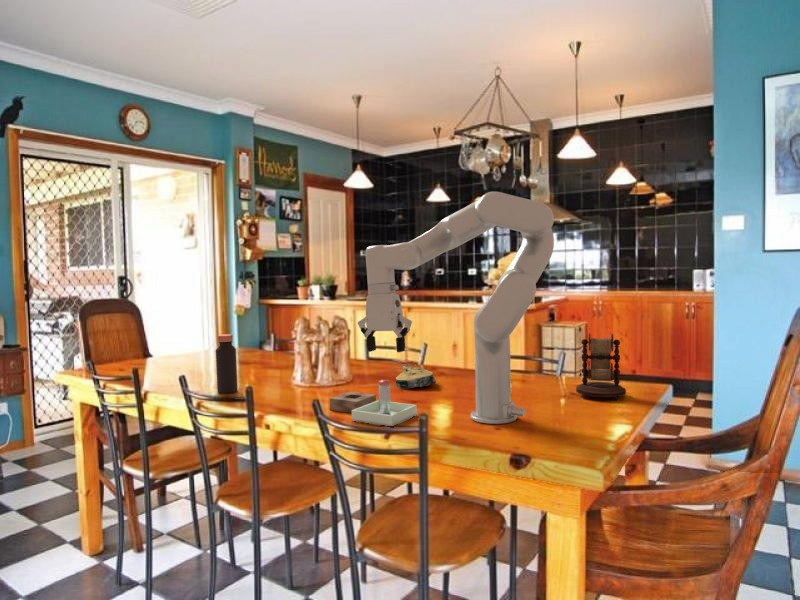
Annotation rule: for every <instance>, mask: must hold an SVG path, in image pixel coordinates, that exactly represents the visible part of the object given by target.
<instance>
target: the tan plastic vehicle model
mask: <svg viewBox="0 0 800 600" xmlns="http://www.w3.org/2000/svg"><path fill="white" fill-rule="evenodd" d="M401 368H402V370H403V371H402V372H400V373H399V374H398V375H397V376H396V377H395V384H396V387H397V388H399V389H403V390H405V389H407V390H408V389H413V388H419V387H420V388H422V387H425V386H430V385H433V384H436V383H437V381H436V379H435V377H434V372H432V371H430V370H427V369H424V368H422V367H413V366H411V365H406V364H405V365H402V366H401Z"/></svg>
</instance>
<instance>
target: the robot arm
mask: <svg viewBox="0 0 800 600" xmlns="http://www.w3.org/2000/svg"><path fill="white" fill-rule="evenodd" d="M554 222H555V217H554V212H553V210H552V208H550V207H549V206H548V205H547V204H546V203H544V202H541V201H537V200H533V199H528V198H525V197H520V196H517V195H512V194H509V193H505V192H500V191H488V192H485V194H483V195H482V196H481V197H480V198H479V199H477V200H476V201H474V202H472V203H469V204H468V205H467V206H465V207H463V208H461V209H459V210H457V211H455V212H454V213H451V214H450V215H448V216H446V217H444V218H443V219H441V220H440V221H439V222H438V223H437V224H436V225H435V226H434V227H432V228H431V229H430V230H428V231H426V232H424V233H423V234H421V235H420V236H417V237H416V238H414V239H412V240H410V241H407V242H406V241H405V242H400V243H394V244H390V245H389V244H388V245H387V244H380V245H379V244H377V245H370V246H368V247H366V249H365V264H366V266H365V267H366V276H367V277H366V278H367V279H366V280H367V291H368V292H367V293H368V295H367V296H366V301H365V316H364V317H363V318H362V319H360V320H359V321H358V322H357V325H358V326H359V329H360V331H361V333H362V334H363V336H364V338H365V339H366V348H367V352H369V353H371V352H375V351H376V350H377V345H376V344H377V343H376V337H375V336H374V335H375V334H376V332H393V333H394V334H395V335H396V336H397V337H396V338H395V343H396V344H395V345H396V352H397V353H402V352H405V350H406V337H407V334H408V333H409V331H410V330H411V329H410V328H411V327H412V325H413V321H412V320H411V319H409V318H407V317H406V316H404V312H403V306H402V302H401V299H400V295H399V293H396V292H397V291H399V285H398V284H396V281H395V280H396V279H395V270H401V271H410V270H414V269H417V268H418V267H419V266H422V265H424V264H425V263H427V262H429V261H431V260H432V259H435V258H437V257H438V256H440V255H441V254H444V253H446V252H448V251H451V250H454V249H456V248H458V247H460V246H462V245H463V244H465V243H467V242H469V241H471V240H473V239H474V238H477V237H478V236H481V235H482V234H484V233H485V232H488V231H489V230H491V229H494V228H495V227H501V228H505V229H507V230H512V231H516V232H520V234H521V239H522V240H521V245H520V247H519V249H518V250H517V252H516V254H515V255H514V257H513V259H512V260H511V262H510V263H509V265H508V266H507V268H506V270H505V271H504V272H503V273H502V275H501V276H500V278H499V279H498V281H497V284H496V288H495V290H494V291H493V293H492V294H491V296H490V297H489V299H488V301H487V302H486V303H485V304H484V305H482V306H480V307H479V308H478V310H477V311H476V313H475V315H474V319H473V320H474V321H473V332H474V333H473V335H474V362H475V363H474V364H475V365H474V368H475V369H474V373H475V374H474V375H475V377H474V378H475V379H474V380H475V381H474V382H475V410H472V411H471V412H470V419H471V420H472V421H474V422H477V423H481V424H490V425H492V424H493V425H497V424H498V425H500V424H502V425H503V424H508V423H512V422H515V421H516V420H517V419H518V418H517V417H525V416H526V409H525V408H524V407H520V406H516V405H515V401H512V400H511V396H512V395H511V339H510V337H511V334H512V333H513V332H514V331H515V329H516V327H517V326H518V325H519V323H520V322H521V320H522V318H523V317H524V315H525V313H526V312H527V311H528V309H529V308H530V306H531V304H532V302H533V300H534V299H535V297H536V293H537V285H536V283H537V282H538V281H539V279H540V277H541V276H542V273H543V272H544V270H545V269H546V267H547V265H548V264H549V262H550V260H551V258H552V255H553V252H554V248H555V247H554V246H555V238H554V233H553V229H552V228H553V225H554Z"/></svg>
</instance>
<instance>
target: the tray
mask: <svg viewBox="0 0 800 600" xmlns="http://www.w3.org/2000/svg"><path fill="white" fill-rule="evenodd" d="M390 404H391V415H385V414H379V399H378V400H376V401H375V402H372V403H370V404H367V405H364V406H362V407H359V408H357V409H354V410H351V412H352V413H351V422H354V421H356V422H355V423H361V422H364V423H363V424H367V423H369V424H368V425H374V426H380V425H387V426H393V425H396V424H398V425H400V424H401V423H405V422H406V421H408V420H410V418H411V419H412V417H413V416H415V415H417V416H418V408H417V404H412V403H411V404H410V403H403V402H395V401H390ZM415 417H416V416H415ZM413 418H414V417H413ZM387 426H386V427H387ZM396 426H397V425H396Z"/></svg>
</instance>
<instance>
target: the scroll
mask: <svg viewBox="0 0 800 600" xmlns="http://www.w3.org/2000/svg"><path fill="white" fill-rule="evenodd" d="M620 344H621V341H620V339H614V334H613V333H611V337H610V338H604V337H603V338H601V337H600V338H597V337H596V338H594V337H591V333H590V332H589V333H588V339H587V338H583V339H582V340H581V345H582V346H581V347H582V350H581V352H582V354H581V360H582V364H581V366H582V369H581V373H582V374H581V375H582V380H581V382H582V383H581V384H579V385H577V386H576V389H575V391H576V393H578V394H580V395H582V396H583V399H584V400H586V399H587V398H588V396H589V397H594V398H595V397H596V398H615V400H616V401H617V402H618V401H619V400H620V398H621V397H623V396H625V395H626V394H627V389H626V388H625V387H624V386H622V385H621V384H620V383H621V381H620V374H621V370H620V364H619V363H620V361H621V355H620V350H619V349H620ZM587 347H588V349H587ZM588 351H589V353H590V354H587V353H588ZM612 352H613V354H614V355H611V353H612ZM588 360H590V361H589V362H588ZM611 360H613V361H614V366H613V362H611ZM587 362H588V363H587ZM613 367H614V368H613ZM587 377H588V378H587ZM613 379H614V381H613ZM588 380H589V381H588ZM611 381H613V382H611Z"/></svg>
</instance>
